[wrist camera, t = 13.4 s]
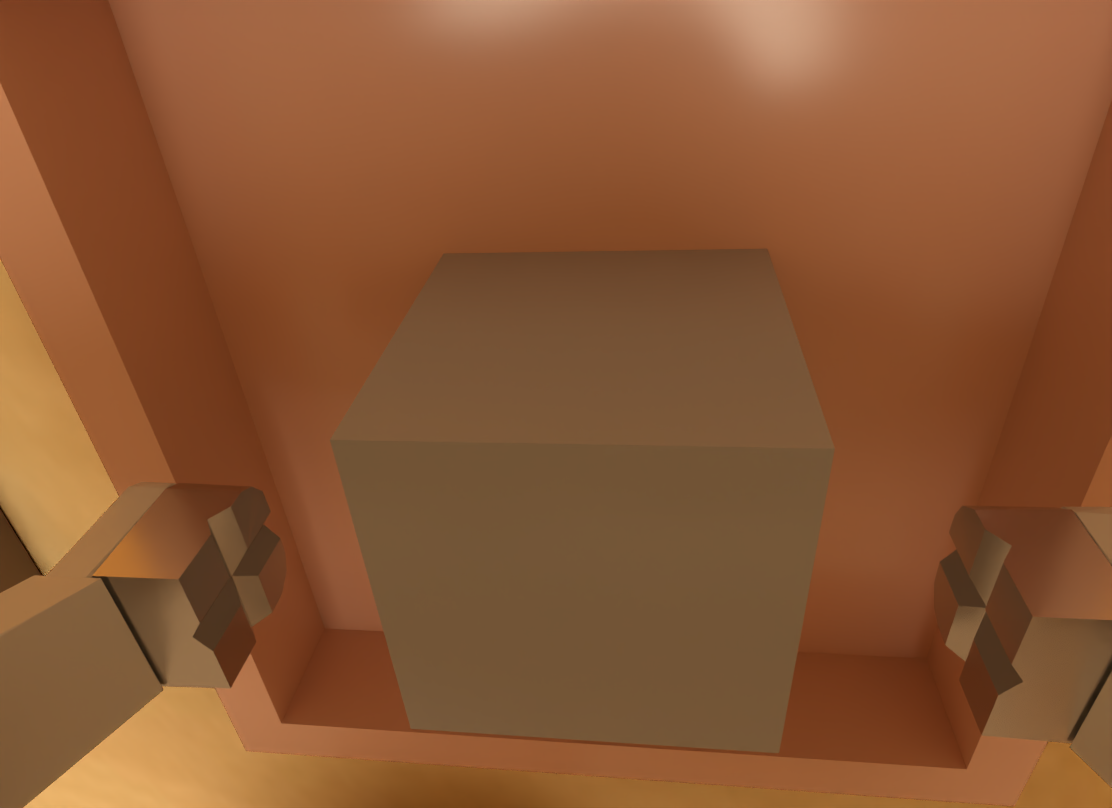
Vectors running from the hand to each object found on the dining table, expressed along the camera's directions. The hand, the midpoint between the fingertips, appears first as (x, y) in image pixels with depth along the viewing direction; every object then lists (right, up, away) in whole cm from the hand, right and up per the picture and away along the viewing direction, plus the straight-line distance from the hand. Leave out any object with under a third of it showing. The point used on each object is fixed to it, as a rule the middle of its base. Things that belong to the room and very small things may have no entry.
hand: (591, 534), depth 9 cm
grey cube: (0, +2, +3) cm, 3 cm away
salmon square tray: (0, +2, +3) cm, 4 cm away
